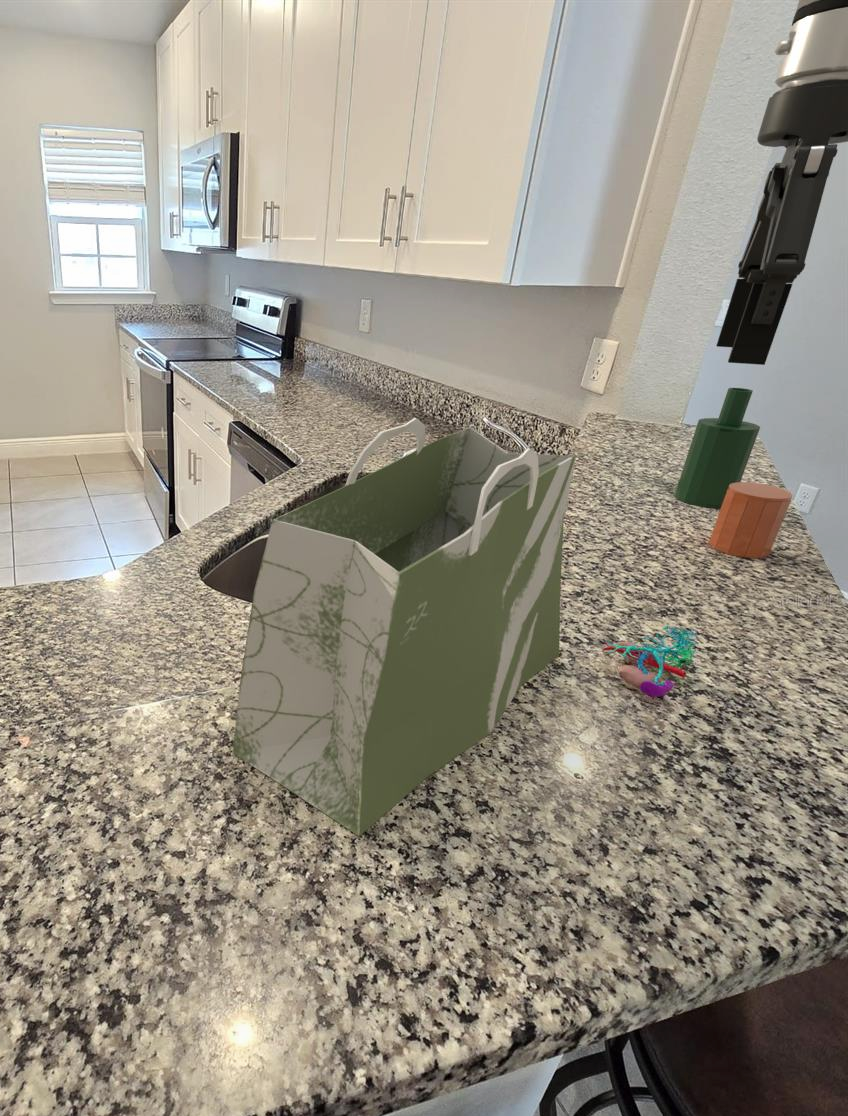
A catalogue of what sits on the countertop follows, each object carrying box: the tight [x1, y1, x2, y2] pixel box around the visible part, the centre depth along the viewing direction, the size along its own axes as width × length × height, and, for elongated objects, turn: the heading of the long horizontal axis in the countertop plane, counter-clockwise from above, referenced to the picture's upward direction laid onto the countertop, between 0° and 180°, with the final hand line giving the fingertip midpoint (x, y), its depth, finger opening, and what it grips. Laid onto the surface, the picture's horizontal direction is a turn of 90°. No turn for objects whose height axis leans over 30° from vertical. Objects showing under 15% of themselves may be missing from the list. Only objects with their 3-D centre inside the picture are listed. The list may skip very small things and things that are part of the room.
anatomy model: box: [602, 625, 699, 698], centre depth 60 cm, size 5×8×7 cm
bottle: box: [674, 387, 761, 509], centre depth 102 cm, size 8×8×17 cm
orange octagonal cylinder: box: [707, 481, 793, 559], centre depth 86 cm, size 7×7×8 cm
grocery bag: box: [232, 417, 577, 837], centre depth 52 cm, size 32×14×23 cm, turn 136°
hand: (737, 355), depth 65 cm, fingers open, 13 cm apart
